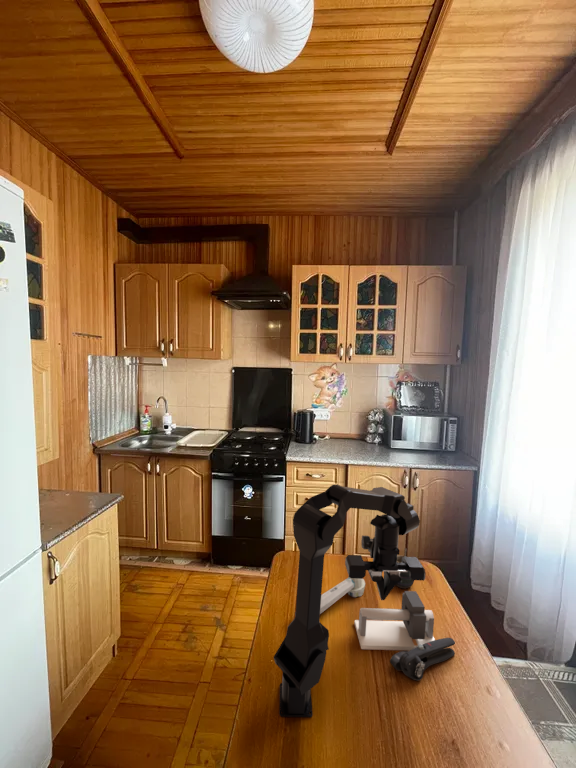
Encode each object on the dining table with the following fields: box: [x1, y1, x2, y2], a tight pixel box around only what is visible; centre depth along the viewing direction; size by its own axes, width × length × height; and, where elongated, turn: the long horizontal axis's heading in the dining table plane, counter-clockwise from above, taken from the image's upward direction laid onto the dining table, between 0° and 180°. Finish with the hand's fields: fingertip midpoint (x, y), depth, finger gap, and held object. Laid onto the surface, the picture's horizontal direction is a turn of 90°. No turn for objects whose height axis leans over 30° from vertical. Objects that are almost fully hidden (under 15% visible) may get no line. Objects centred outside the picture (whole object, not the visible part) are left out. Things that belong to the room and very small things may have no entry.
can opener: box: [389, 637, 456, 681], centre depth 80 cm, size 18×7×6 cm, turn 114°
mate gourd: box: [395, 547, 415, 590], centre depth 108 cm, size 7×8×10 cm
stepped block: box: [400, 590, 426, 639], centre depth 87 cm, size 8×3×8 cm, turn 1°
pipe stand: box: [354, 607, 436, 651], centre depth 87 cm, size 8×19×7 cm, turn 91°
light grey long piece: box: [294, 575, 366, 615], centre depth 98 cm, size 5×7×25 cm
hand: (382, 599), depth 87 cm, fingers closed
